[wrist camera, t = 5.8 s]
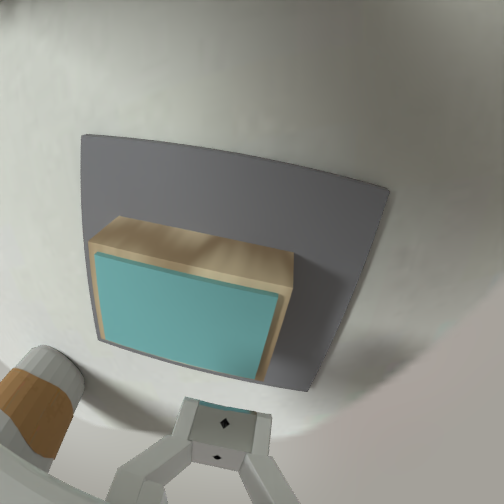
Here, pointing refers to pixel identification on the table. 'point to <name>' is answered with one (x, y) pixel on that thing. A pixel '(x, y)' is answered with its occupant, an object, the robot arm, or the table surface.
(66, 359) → the coffee cup
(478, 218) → the table surface
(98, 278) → the plaque
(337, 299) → the mat
